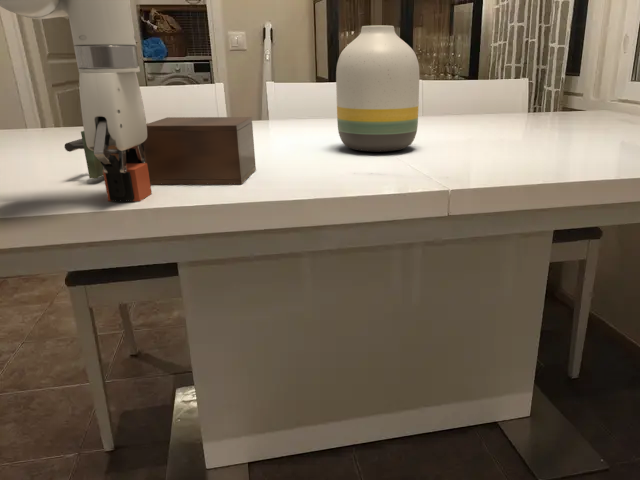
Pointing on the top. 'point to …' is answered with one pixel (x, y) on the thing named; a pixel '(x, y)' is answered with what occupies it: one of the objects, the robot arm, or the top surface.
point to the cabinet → (200, 150)
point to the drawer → (90, 156)
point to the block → (136, 180)
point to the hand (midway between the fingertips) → (130, 194)
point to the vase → (377, 91)
